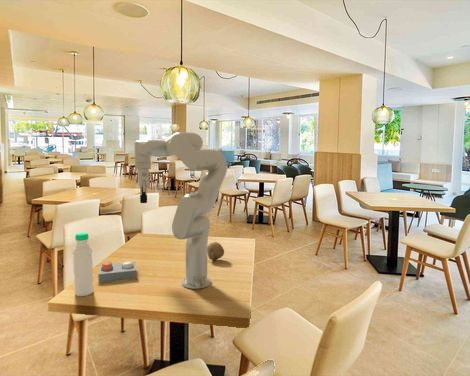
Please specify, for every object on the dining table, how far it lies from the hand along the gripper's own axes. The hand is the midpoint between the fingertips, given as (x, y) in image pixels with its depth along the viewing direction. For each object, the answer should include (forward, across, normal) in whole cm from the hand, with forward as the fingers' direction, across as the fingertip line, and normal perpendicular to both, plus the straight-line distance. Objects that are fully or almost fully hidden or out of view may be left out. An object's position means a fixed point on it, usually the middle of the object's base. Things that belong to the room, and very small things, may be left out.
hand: (143, 202), depth 165 cm
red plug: (+30, -11, +17) cm, 37 cm away
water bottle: (+32, -26, +26) cm, 49 cm away
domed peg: (+31, -11, +8) cm, 34 cm away
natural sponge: (+32, -4, -36) cm, 49 cm away
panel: (+32, -11, +13) cm, 36 cm away
